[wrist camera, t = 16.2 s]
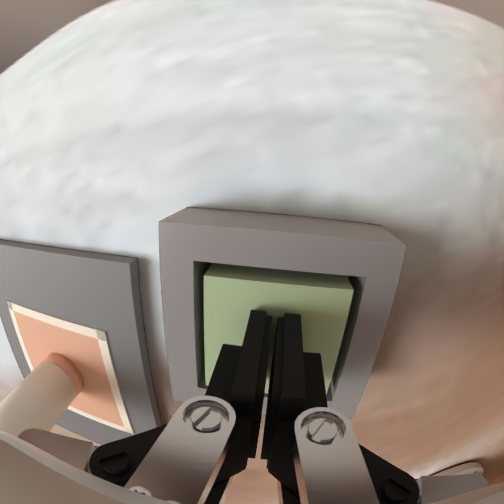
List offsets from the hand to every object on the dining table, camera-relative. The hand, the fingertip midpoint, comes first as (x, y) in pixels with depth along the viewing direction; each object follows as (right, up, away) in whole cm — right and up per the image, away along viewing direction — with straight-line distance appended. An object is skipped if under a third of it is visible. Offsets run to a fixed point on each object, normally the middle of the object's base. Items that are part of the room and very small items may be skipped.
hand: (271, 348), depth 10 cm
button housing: (0, +1, +3) cm, 3 cm away
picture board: (-13, -4, +6) cm, 15 cm away
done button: (0, +1, +2) cm, 2 cm away
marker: (-13, -5, +5) cm, 15 cm away
